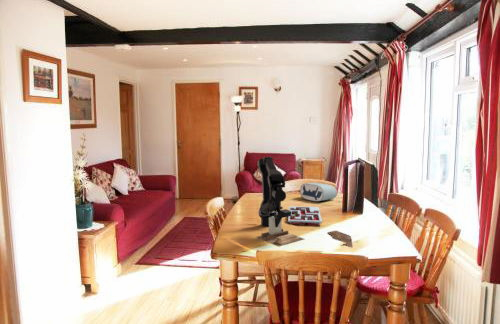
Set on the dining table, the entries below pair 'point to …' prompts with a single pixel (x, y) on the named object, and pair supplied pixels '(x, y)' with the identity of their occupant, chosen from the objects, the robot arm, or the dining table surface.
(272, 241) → the walnut rack
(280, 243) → the lower oak offcut
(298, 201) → the dining table surface
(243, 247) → the dining table surface
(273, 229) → the taupe rectangular block
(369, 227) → the dining table surface
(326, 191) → the grey rounded oval block
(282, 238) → the upper oak offcut
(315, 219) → the maze game
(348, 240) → the wooden fragment
